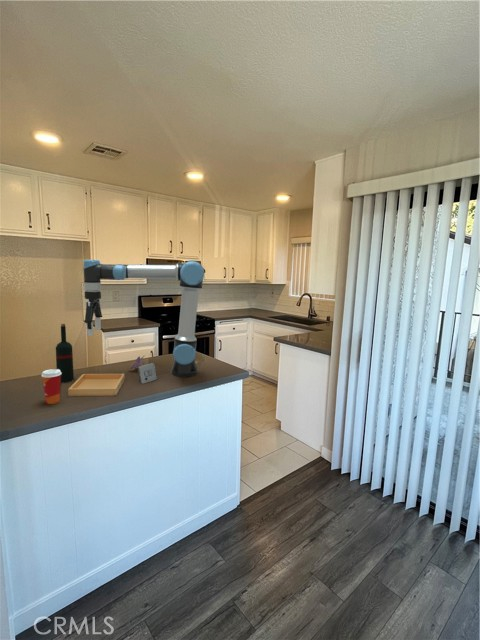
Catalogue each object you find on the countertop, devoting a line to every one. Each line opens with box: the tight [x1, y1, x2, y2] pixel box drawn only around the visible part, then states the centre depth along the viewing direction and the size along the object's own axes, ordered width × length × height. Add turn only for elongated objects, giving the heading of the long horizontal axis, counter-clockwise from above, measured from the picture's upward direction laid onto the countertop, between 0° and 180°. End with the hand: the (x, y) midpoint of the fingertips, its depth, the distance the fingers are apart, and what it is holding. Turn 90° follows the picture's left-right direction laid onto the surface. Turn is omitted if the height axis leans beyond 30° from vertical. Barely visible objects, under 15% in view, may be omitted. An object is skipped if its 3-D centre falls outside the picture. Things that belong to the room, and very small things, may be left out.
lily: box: [128, 355, 146, 372], centre depth 186 cm, size 12×12×10 cm
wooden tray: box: [67, 373, 126, 397], centre depth 159 cm, size 21×21×4 cm
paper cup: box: [40, 368, 62, 405], centre depth 141 cm, size 8×8×14 cm
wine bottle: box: [55, 323, 75, 384], centre depth 166 cm, size 8×10×30 cm
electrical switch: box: [136, 362, 158, 384], centre depth 172 cm, size 9×5×9 cm, turn 141°
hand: (94, 332), depth 163 cm, fingers open, 13 cm apart
